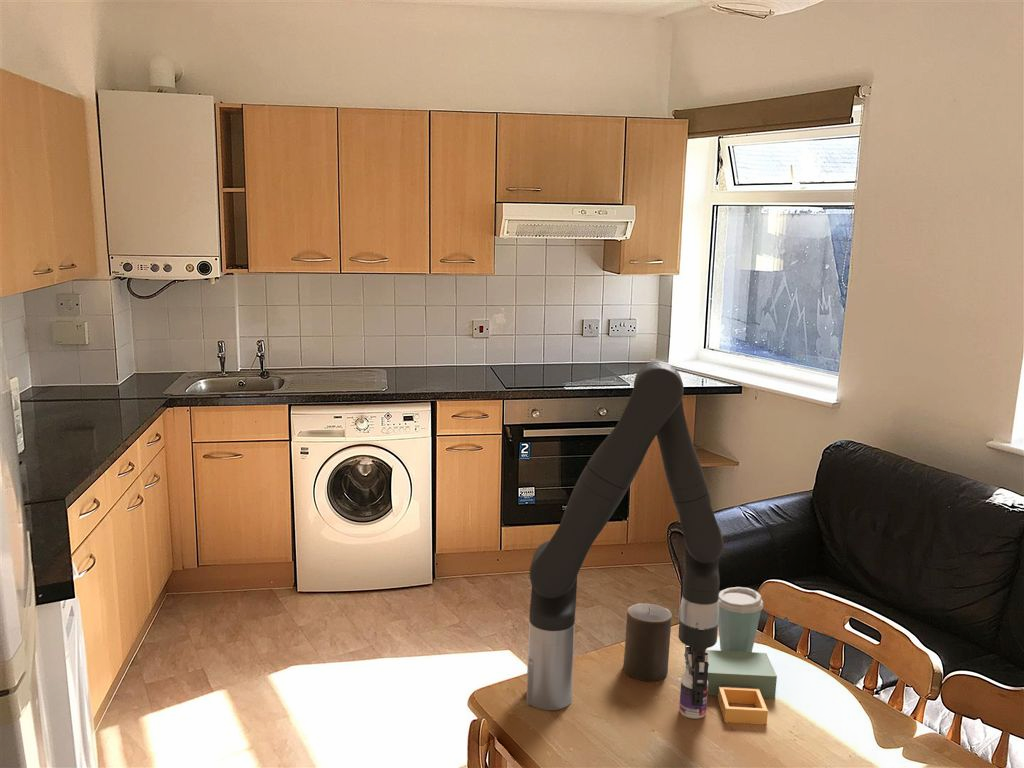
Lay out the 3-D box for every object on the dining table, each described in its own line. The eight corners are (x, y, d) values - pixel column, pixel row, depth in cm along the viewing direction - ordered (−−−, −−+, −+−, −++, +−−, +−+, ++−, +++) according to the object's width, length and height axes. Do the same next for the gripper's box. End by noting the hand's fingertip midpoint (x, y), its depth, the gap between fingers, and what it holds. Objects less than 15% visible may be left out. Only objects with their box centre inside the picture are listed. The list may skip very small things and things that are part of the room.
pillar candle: (641, 685, 188) (646, 620, 185) (614, 665, 197) (618, 602, 194) (677, 675, 193) (682, 611, 190) (648, 655, 201) (653, 594, 199)
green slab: (704, 721, 176) (706, 698, 175) (691, 670, 195) (692, 649, 194) (786, 725, 175) (788, 702, 174) (764, 674, 194) (766, 653, 193)
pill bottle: (706, 721, 176) (709, 676, 174) (678, 717, 177) (681, 672, 175) (706, 706, 181) (709, 662, 179) (679, 703, 182) (682, 659, 180)
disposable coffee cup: (729, 670, 196) (733, 607, 193) (701, 648, 205) (706, 587, 203) (768, 662, 199) (774, 600, 197) (740, 641, 209) (745, 581, 206)
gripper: (675, 602, 182) (670, 675, 185) (684, 634, 168) (679, 712, 171) (712, 603, 182) (707, 677, 185) (724, 636, 168) (718, 714, 171)
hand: (693, 694), depth 178 cm, fingers open, 7 cm apart
